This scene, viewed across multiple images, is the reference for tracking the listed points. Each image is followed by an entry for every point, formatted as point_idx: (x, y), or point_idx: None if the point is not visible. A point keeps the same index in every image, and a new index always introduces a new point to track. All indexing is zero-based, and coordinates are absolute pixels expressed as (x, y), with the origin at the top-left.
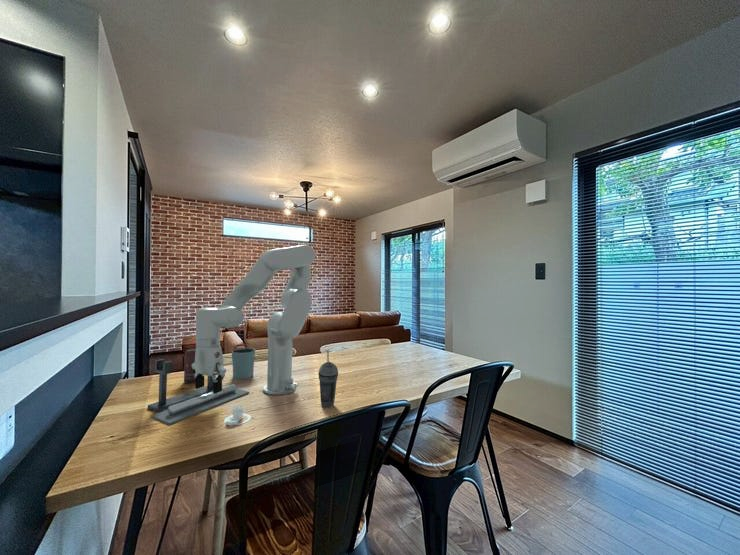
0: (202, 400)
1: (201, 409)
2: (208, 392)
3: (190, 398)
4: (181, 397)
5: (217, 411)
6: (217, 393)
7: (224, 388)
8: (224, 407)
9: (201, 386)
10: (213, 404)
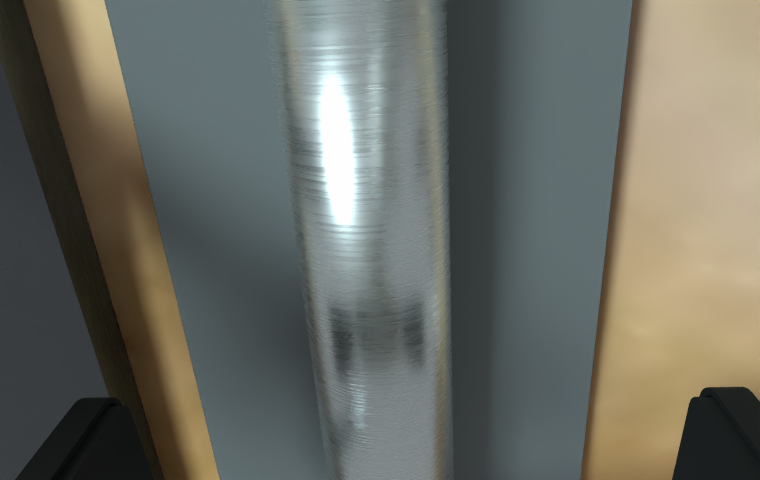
0: (451, 464)
1: (552, 476)
2: (30, 119)
3: (115, 396)
4: (17, 451)
5: (731, 377)
6: (443, 244)
7: (392, 51)
8: (724, 266)
9: (139, 463)
10: (555, 334)
